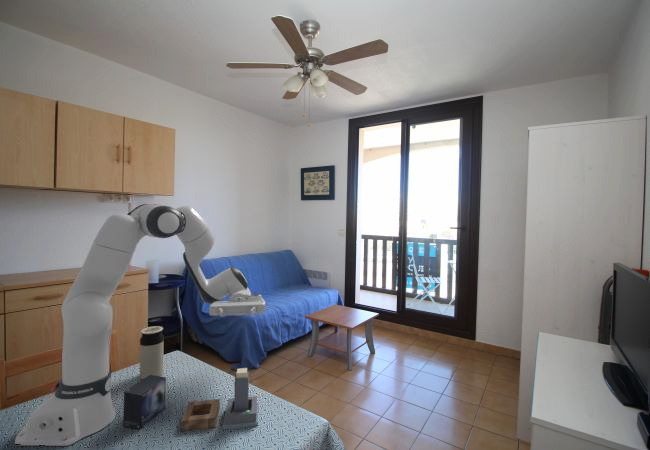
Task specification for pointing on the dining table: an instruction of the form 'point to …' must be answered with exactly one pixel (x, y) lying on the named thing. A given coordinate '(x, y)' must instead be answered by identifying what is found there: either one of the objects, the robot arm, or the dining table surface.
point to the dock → (241, 415)
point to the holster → (200, 421)
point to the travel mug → (151, 352)
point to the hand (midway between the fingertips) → (236, 313)
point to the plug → (241, 390)
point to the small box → (144, 401)
